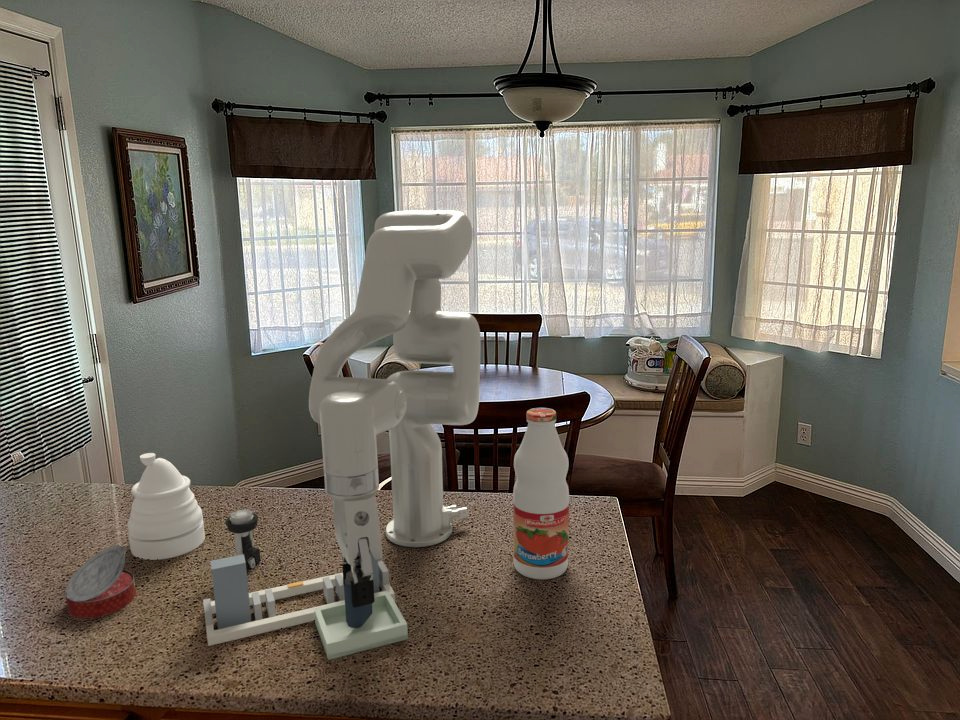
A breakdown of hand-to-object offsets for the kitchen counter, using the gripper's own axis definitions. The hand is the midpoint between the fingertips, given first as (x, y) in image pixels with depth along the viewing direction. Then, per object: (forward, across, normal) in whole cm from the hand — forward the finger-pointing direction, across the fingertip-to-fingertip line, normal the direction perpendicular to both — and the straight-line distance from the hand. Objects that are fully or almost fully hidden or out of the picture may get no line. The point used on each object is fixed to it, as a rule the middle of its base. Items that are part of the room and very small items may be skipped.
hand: (358, 594), depth 106 cm
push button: (+6, +26, +14) cm, 30 cm away
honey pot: (+6, +42, +26) cm, 50 cm away
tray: (+6, 0, 0) cm, 6 cm away
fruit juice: (+6, +5, -33) cm, 34 cm away
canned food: (+6, +25, +36) cm, 45 cm away
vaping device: (+4, 0, 0) cm, 4 cm away
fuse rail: (+6, +10, +7) cm, 14 cm away
